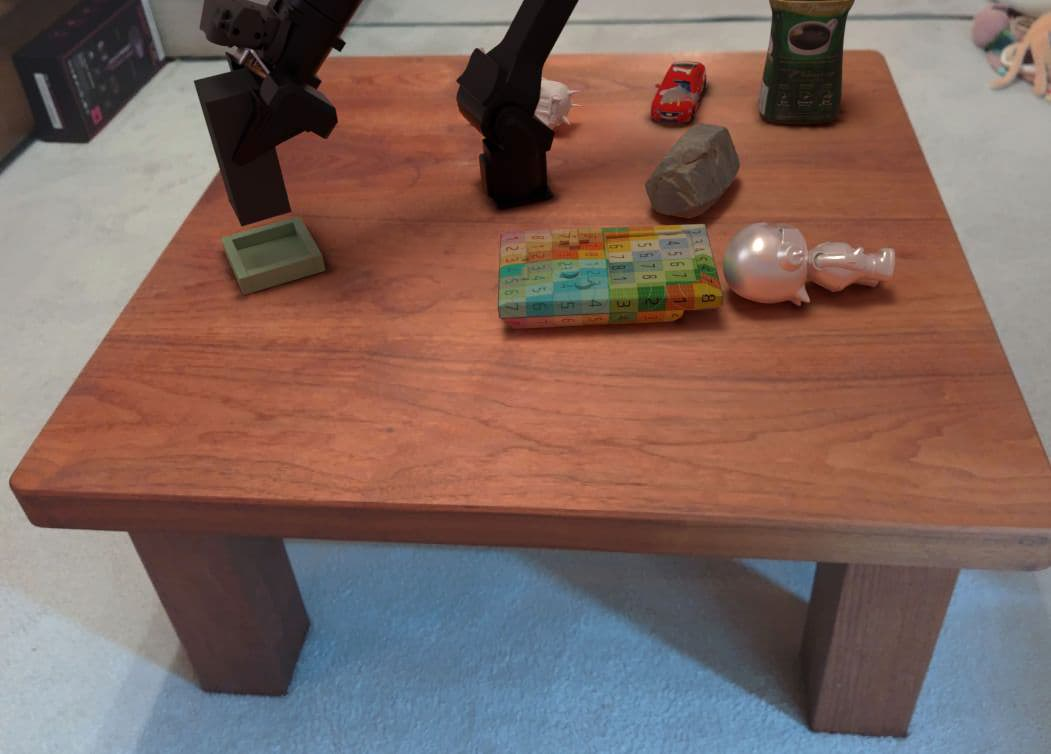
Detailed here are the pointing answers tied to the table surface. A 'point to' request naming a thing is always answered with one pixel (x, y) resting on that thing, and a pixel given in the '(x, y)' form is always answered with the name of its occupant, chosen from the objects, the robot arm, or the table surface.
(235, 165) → the tall black rectangular block
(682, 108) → the race car
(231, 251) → the green square tray
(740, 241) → the figurine
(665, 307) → the puzzle game
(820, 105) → the coffee jar
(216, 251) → the table surface
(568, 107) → the robot toy
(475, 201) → the table surface
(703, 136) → the stone
